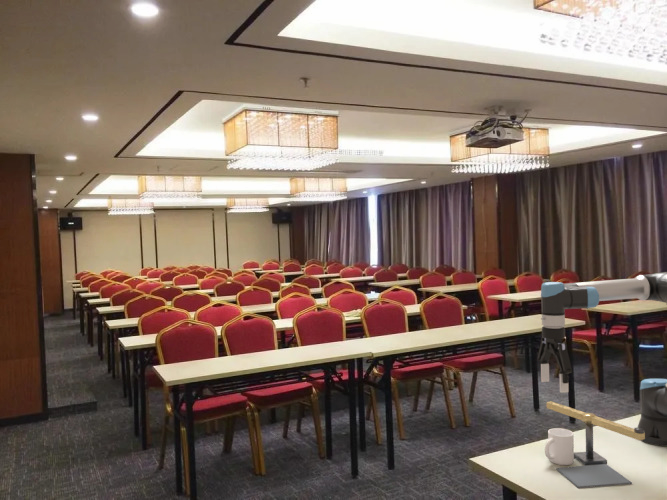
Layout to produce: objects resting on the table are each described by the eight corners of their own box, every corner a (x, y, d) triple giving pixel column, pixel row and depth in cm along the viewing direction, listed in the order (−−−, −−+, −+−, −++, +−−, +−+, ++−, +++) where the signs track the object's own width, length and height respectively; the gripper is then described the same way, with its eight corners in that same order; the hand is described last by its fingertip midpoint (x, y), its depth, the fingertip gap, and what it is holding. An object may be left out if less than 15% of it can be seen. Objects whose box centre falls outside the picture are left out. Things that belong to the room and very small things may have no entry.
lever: (647, 439, 177) (647, 429, 177) (638, 442, 175) (638, 431, 175) (553, 406, 211) (553, 398, 211) (544, 408, 209) (544, 400, 209)
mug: (555, 470, 188) (554, 440, 187) (536, 461, 195) (535, 432, 195) (579, 462, 193) (578, 433, 193) (559, 454, 201) (559, 426, 200)
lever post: (594, 455, 199) (593, 418, 199) (607, 464, 191) (606, 425, 191) (573, 456, 198) (572, 419, 198) (585, 466, 190) (584, 427, 190)
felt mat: (606, 465, 190) (606, 464, 190) (631, 484, 176) (631, 482, 176) (556, 469, 188) (556, 467, 188) (578, 488, 174) (578, 486, 174)
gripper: (527, 321, 205) (528, 378, 206) (560, 333, 180) (562, 397, 181) (546, 320, 206) (547, 377, 206) (582, 332, 181) (583, 396, 182)
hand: (554, 386), depth 194 cm, fingers open, 13 cm apart
